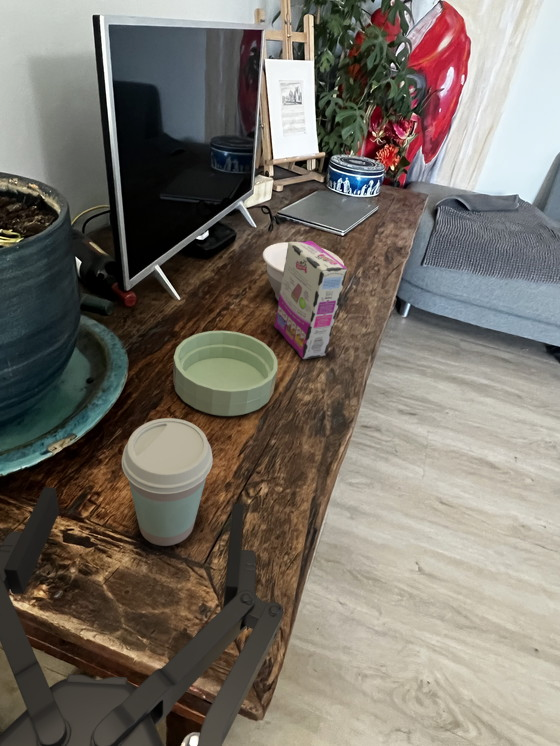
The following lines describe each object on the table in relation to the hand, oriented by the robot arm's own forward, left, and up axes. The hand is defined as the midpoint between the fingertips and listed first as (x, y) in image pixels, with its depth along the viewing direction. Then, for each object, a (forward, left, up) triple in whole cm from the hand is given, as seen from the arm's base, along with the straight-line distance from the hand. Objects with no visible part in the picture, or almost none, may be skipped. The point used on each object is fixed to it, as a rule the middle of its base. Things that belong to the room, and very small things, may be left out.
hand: (146, 507), depth 37 cm
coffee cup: (0, +10, -15) cm, 18 cm away
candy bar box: (+16, +50, -15) cm, 54 cm away
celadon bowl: (+4, +35, -15) cm, 38 cm away
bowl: (+16, +66, -15) cm, 69 cm away
